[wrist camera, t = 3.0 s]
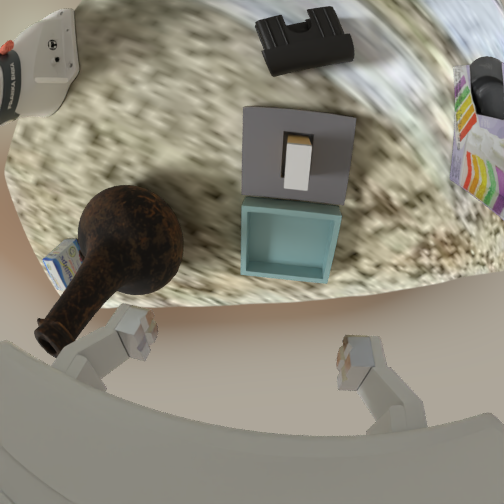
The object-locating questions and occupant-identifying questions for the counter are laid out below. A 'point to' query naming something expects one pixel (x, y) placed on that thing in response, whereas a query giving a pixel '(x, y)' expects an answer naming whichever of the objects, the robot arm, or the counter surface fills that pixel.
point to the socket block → (275, 146)
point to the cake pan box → (480, 131)
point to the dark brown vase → (114, 259)
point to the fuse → (297, 162)
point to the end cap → (304, 42)
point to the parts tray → (288, 239)
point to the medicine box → (63, 263)
